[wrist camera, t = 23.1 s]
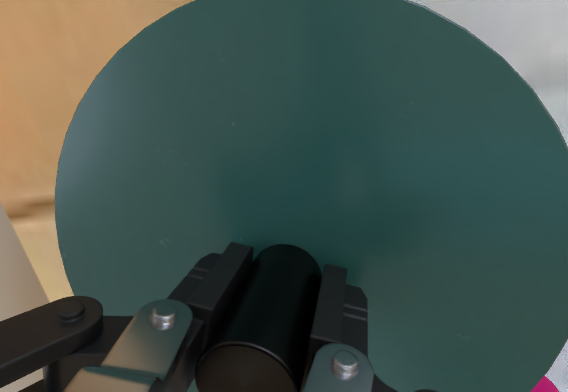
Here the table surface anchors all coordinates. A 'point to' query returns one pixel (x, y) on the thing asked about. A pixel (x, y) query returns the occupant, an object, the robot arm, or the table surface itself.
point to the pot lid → (326, 189)
